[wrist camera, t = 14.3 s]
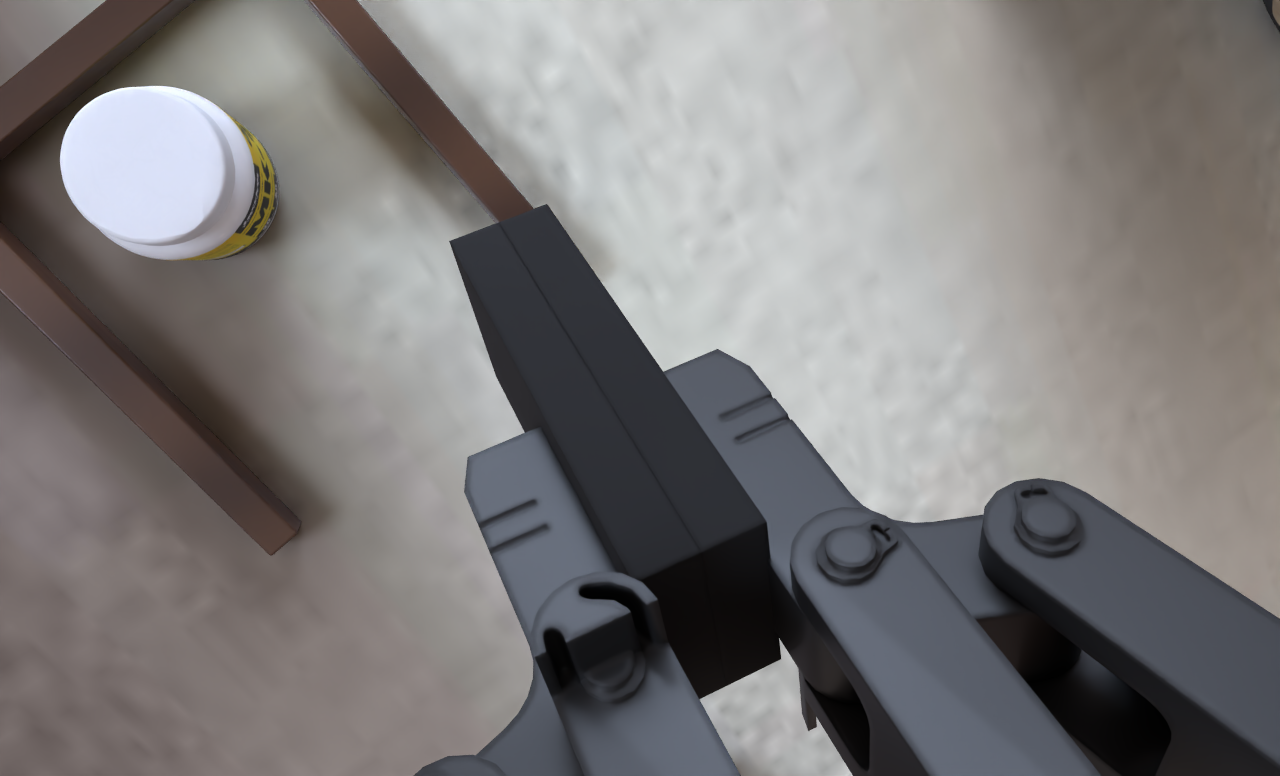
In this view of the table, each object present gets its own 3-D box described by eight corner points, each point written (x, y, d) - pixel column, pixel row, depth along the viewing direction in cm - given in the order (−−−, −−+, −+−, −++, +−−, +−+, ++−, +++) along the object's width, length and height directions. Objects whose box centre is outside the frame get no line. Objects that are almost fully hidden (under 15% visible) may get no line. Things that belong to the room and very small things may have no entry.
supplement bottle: (291, 252, 36) (254, 252, 28) (142, 266, 35) (60, 271, 27) (269, 107, 35) (225, 64, 27) (117, 118, 34) (24, 77, 26)
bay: (584, 275, 38) (591, 276, 37) (276, 545, 37) (270, 557, 36) (260, -106, 34) (253, -122, 33) (-92, 183, 33) (-116, 180, 32)
